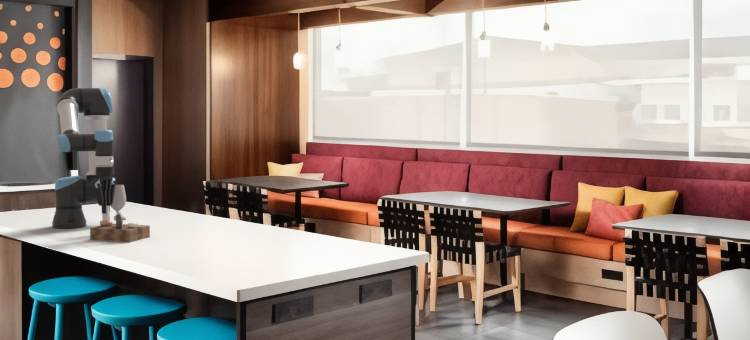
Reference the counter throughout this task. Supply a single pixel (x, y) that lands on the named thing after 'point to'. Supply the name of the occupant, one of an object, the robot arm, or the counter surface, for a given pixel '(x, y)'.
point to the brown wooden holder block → (119, 233)
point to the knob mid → (122, 219)
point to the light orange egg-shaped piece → (105, 223)
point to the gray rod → (119, 220)
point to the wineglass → (119, 198)
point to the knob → (133, 225)
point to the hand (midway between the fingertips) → (106, 220)
